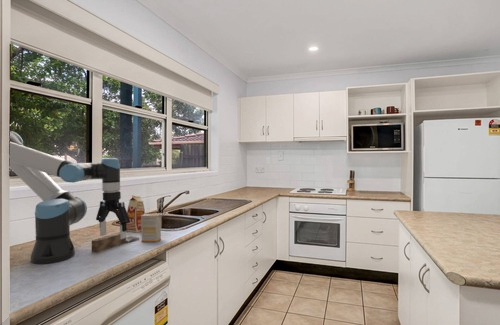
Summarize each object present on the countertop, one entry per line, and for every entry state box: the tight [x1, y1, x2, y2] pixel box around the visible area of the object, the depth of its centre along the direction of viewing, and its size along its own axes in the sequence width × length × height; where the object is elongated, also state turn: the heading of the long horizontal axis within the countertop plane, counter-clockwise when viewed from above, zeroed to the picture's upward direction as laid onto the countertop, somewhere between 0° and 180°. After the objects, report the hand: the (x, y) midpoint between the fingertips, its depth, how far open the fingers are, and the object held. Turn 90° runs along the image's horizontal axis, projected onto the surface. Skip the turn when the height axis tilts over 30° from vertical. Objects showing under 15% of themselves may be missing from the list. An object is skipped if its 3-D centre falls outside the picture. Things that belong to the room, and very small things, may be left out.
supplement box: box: [140, 213, 162, 243], centre depth 144 cm, size 8×5×13 cm, turn 84°
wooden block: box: [91, 231, 140, 254], centre depth 137 cm, size 23×6×5 cm, turn 156°
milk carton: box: [126, 195, 146, 233], centre depth 166 cm, size 9×9×20 cm
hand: (113, 236), depth 136 cm, fingers open, 13 cm apart
